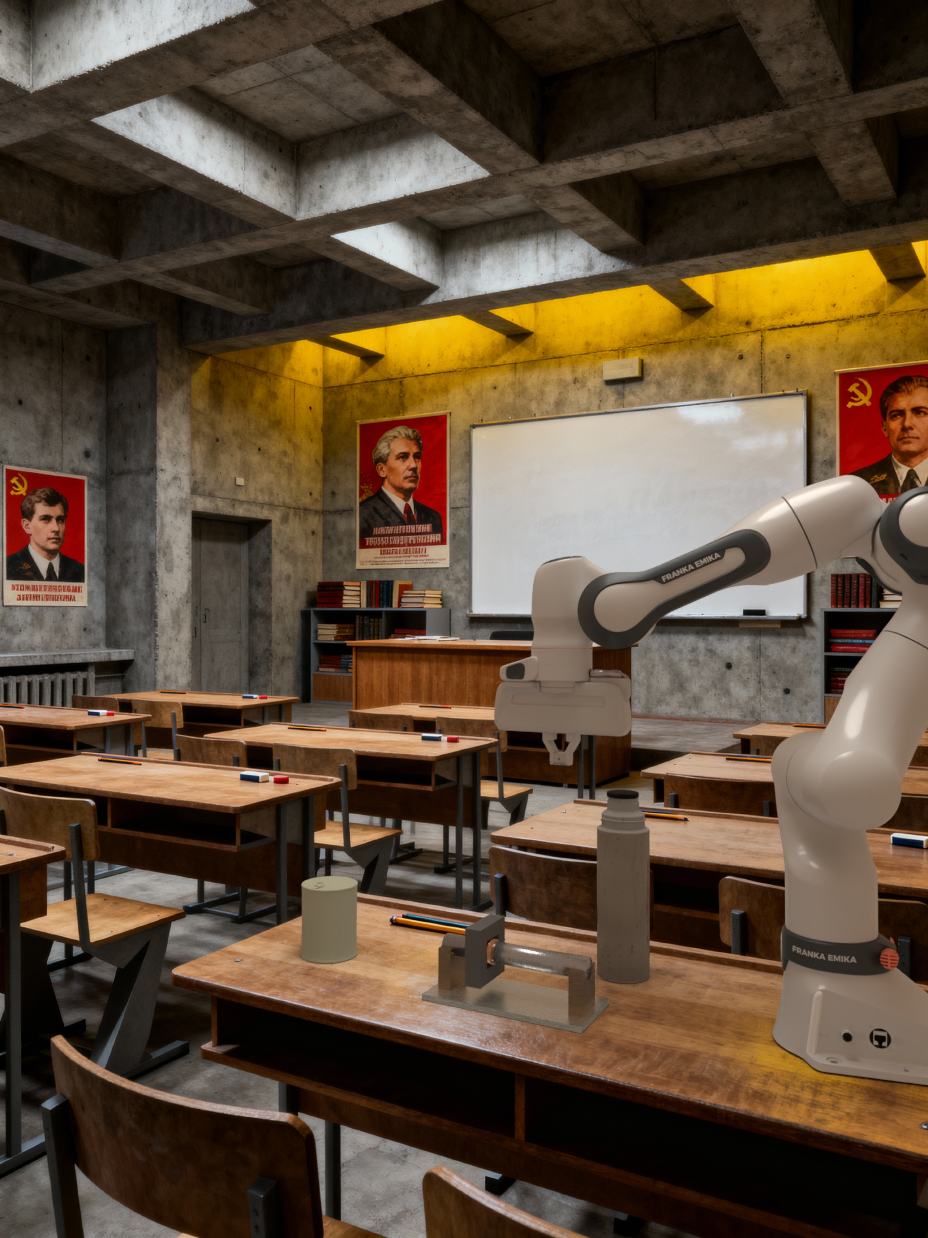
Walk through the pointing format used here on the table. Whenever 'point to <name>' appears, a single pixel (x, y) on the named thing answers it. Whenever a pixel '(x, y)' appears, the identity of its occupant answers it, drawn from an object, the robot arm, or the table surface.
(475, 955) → the collar
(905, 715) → the robot arm
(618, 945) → the thermos bottle
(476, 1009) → the rail
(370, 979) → the table surface
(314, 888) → the can
